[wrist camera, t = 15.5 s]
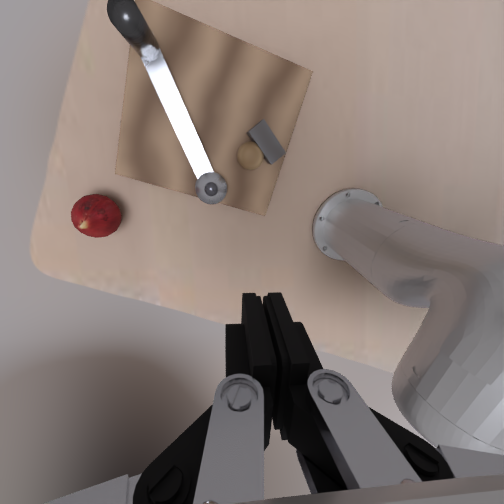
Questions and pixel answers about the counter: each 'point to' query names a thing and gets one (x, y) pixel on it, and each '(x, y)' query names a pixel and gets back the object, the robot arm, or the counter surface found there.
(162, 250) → the counter surface
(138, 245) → the counter surface
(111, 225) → the onion
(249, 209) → the board
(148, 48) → the lever
